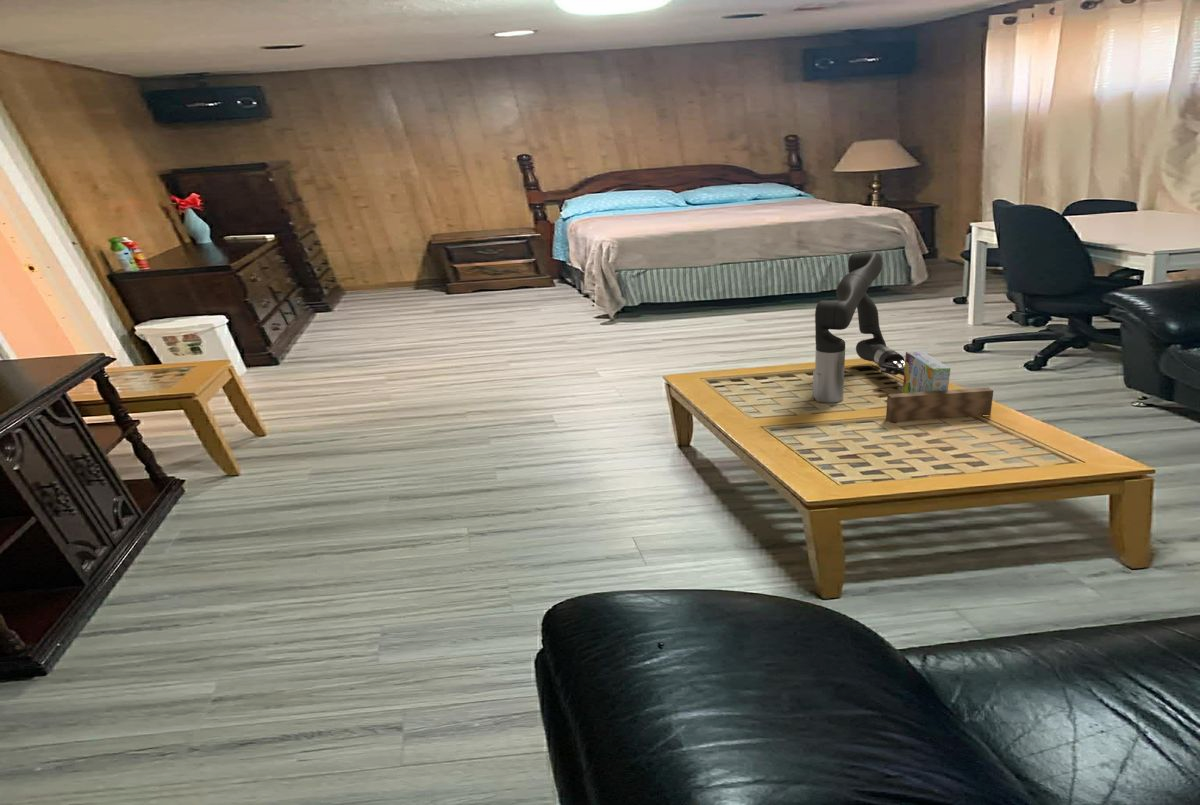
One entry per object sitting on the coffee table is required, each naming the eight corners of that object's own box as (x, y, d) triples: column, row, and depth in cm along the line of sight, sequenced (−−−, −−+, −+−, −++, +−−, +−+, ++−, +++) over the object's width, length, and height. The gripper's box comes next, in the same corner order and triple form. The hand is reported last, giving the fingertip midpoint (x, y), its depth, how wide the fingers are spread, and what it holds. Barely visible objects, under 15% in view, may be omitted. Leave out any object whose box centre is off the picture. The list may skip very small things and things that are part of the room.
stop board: (889, 422, 207) (891, 397, 204) (885, 418, 210) (887, 394, 207) (990, 415, 206) (993, 390, 203) (985, 412, 209) (988, 387, 206)
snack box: (947, 414, 209) (951, 367, 204) (928, 416, 209) (932, 369, 204) (917, 392, 229) (921, 349, 224) (900, 394, 229) (904, 350, 224)
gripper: (870, 351, 242) (890, 365, 226) (908, 348, 242) (931, 362, 226) (869, 371, 245) (889, 387, 228) (906, 368, 244) (929, 383, 228)
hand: (910, 374), depth 227 cm, fingers closed
